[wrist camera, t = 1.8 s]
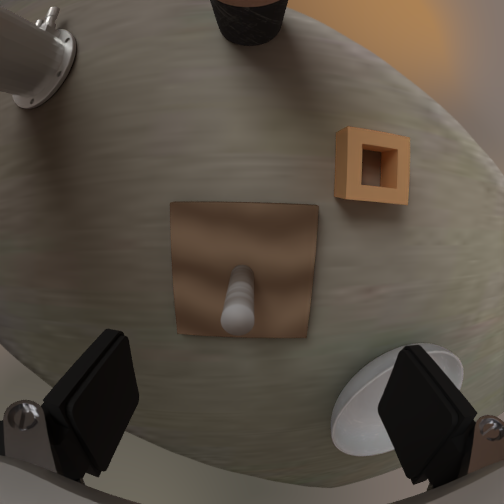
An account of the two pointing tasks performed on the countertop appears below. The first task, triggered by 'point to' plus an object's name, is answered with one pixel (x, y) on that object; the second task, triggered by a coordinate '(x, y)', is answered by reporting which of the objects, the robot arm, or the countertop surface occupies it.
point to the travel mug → (249, 19)
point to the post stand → (243, 268)
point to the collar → (392, 166)
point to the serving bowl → (377, 402)
